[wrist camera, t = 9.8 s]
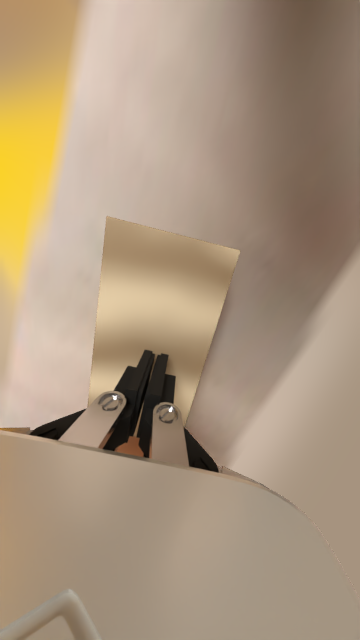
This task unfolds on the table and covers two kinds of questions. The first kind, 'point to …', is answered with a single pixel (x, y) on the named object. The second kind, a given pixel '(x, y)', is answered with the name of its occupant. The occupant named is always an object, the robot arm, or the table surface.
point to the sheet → (157, 305)
